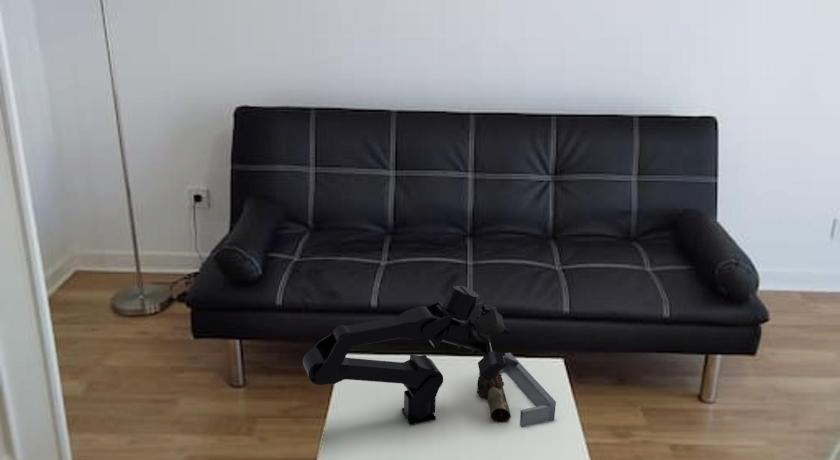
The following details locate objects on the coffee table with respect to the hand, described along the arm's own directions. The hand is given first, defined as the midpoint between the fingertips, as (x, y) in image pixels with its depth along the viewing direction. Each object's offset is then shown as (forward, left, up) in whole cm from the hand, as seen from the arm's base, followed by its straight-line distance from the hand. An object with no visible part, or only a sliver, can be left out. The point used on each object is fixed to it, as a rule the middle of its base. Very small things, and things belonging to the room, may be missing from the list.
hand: (513, 348), depth 187 cm
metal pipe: (-5, 0, -14) cm, 15 cm away
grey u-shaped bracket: (+1, 0, -14) cm, 14 cm away
